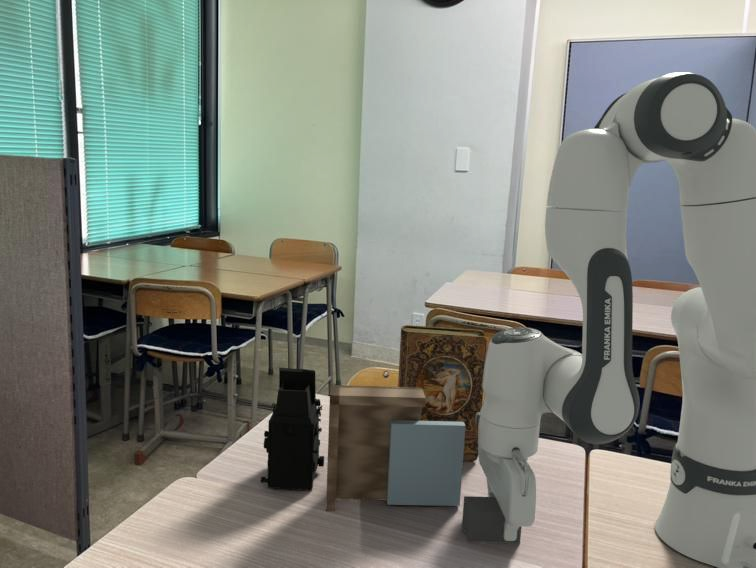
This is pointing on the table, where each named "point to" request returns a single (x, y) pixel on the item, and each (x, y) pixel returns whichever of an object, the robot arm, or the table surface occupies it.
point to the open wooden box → (364, 438)
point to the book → (446, 375)
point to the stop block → (484, 520)
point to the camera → (294, 432)
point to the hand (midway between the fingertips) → (500, 520)
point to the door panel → (425, 462)
